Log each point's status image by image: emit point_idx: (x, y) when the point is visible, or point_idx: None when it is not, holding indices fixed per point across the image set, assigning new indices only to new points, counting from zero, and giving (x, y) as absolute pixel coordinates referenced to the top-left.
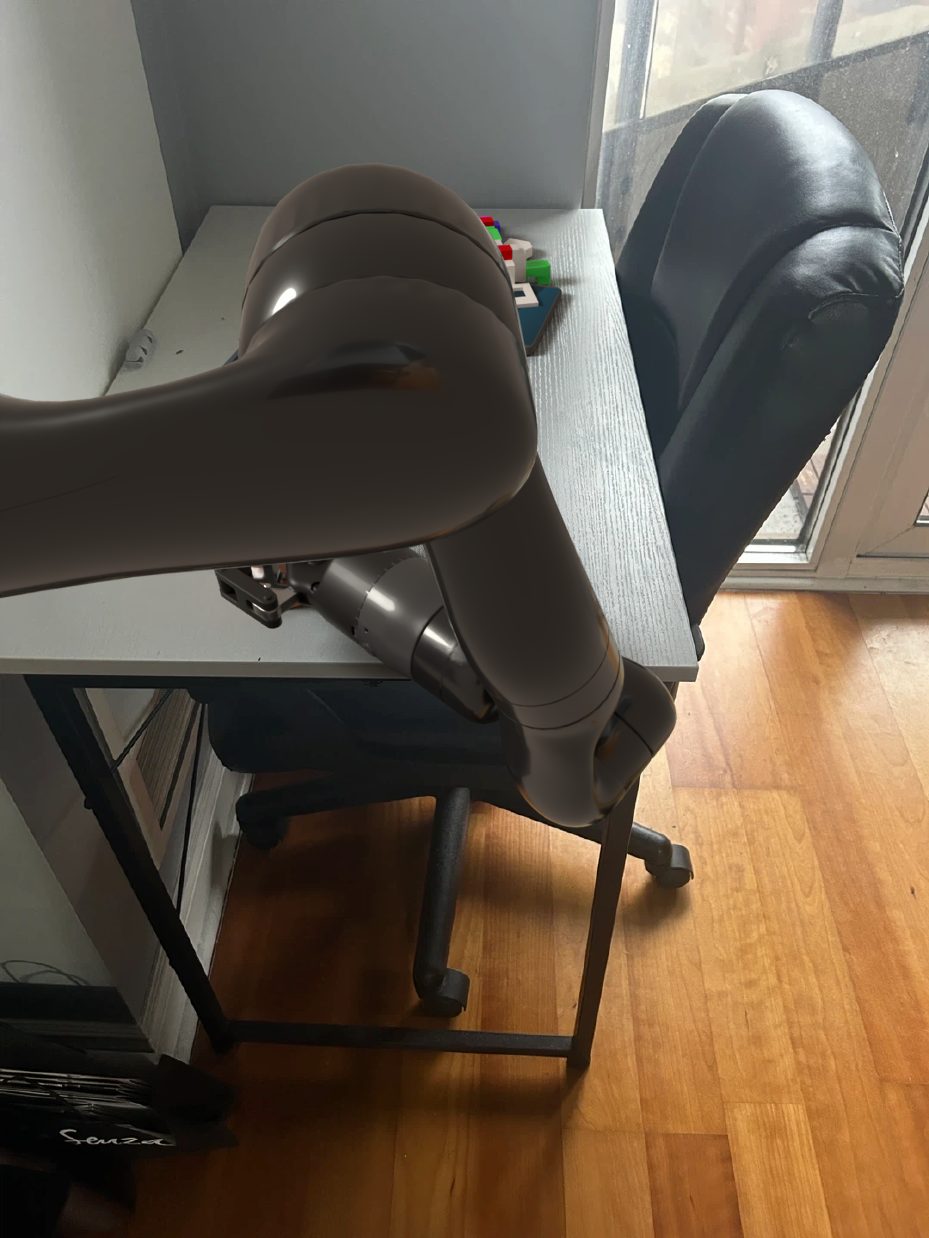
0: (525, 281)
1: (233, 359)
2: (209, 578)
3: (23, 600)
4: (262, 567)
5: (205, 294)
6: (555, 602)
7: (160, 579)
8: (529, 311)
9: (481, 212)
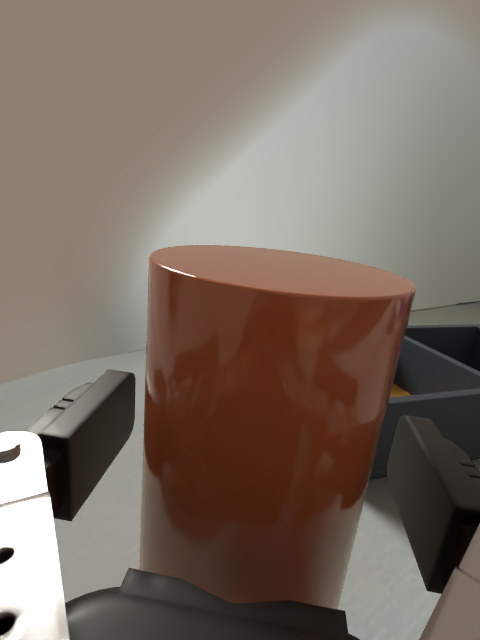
0: None
1: (442, 326)
2: None
3: (43, 378)
4: (140, 563)
5: (456, 320)
6: None
7: (132, 452)
8: None
9: None
